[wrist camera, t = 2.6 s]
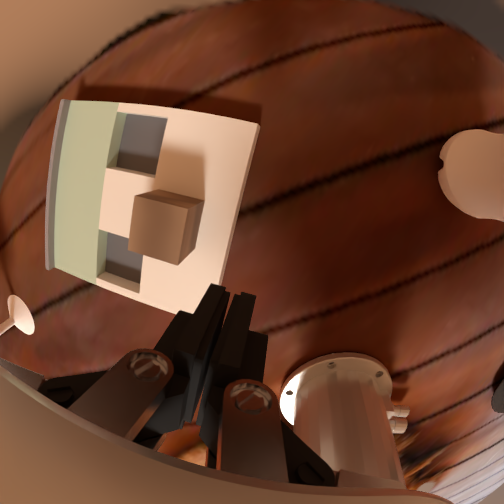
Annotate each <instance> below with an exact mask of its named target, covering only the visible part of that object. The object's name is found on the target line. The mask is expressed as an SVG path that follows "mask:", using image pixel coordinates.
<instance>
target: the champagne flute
mask: <svg viewBox="0 0 504 504" xmlns="http://www.w3.org/2000/svg"><path fill="white" fill-rule="evenodd" d="M8 309H9V314H10V318H9V319H8V320H6V321H5V322H3V323H2V324H1V325H0V335H1V334H2V333H4V332H5V331H6V330H7V329H9V328H10V327H11V326H13V325H15V326H16V327H18V328H19V329H20V330H21V331H23V332H24V333H26V334H29V335H30V334H32V333H33V332H34V321H33V318H32V315H31V313H30V311H29V309H28V308H27V306H26V305H25V303H24V302H23V301H22V300H21V299H20V298H19V297H18V296H16V295H10V296H9V298H8Z"/></svg>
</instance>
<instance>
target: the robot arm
mask: <svg viewBox="0 0 504 504" xmlns="http://www.w3.org/2000/svg"><path fill="white" fill-rule="evenodd" d="M225 289H226V287H223V286H220V285H216V284H213V283H211V284H210V285H209V287H208V289H207V291H206V292H205V294H204V296H203V298H202V299H201V301H200V303H199V305H198V306H197V308H196V310H195V312H194V313H193V314H192V313H188V312H185V311H182V310H179V311H178V313H177V314H176V316H175V317H174V319H173V320H172V322H171V323H170V325H169V326H168V328H167V329H166V331H165V332H164V334H163V335H162V337H161V338H160V340H159V342H158V343H157V345H156V346H155V348H154V349H146V348H144V349H136V350H132V351H130V352H129V353H127V354H126V355H124V356H123V357H122V358H121V359H120V360H119V361H118V362H117V363H116V364H115V365H114V366H113V367H112V368H111V369H109V370H107V371H100V372H94V373H87V374H80V375H73V376H65V377H57V378H53V379H49V380H45V377H44V375H41V374H38V373H35V372H33V371H30V370H28V369H25V368H23V367H20V366H18V365H15V364H13V363H11V362H8V361H6V360H4V359H2V358H0V504H454V503H452V502H451V501H449V500H447V499H445V498H443V497H440V496H437V495H434V494H430V493H426V492H422V491H415V490H407V488H406V486H405V481H404V477H403V472H402V468H401V464H400V460H399V456H398V452H397V448H396V444H395V441H394V437H393V433H403V432H404V431H405V430H406V428H407V420H406V419H405V418H391V417H392V416H396V417H407V416H408V414H409V411H410V409H409V407H408V406H401V405H398V406H395V405H393V403H392V402H391V399H390V397H391V394H392V380H391V377H390V375H389V372H388V370H387V368H386V367H385V366H384V365H383V364H382V363H381V362H380V361H378V360H377V359H375V358H373V357H371V356H368V355H365V354H360V353H351V352H343V353H333V354H329V355H325V356H321V357H318V358H316V359H313V360H311V361H309V362H307V363H305V364H304V365H302V366H300V367H299V368H298V369H296V370H295V371H294V372H293V373H291V375H290V376H289V377H288V378H287V379H286V381H285V383H284V384H283V386H282V389H281V393H280V408H281V412H282V413H283V415H284V417H285V418H286V419H287V420H288V421H289V422H290V423H291V424H292V425H294V428H293V431H292V430H291V429H290V428H289V427H288V426H287V425H285V424H284V423H283V422H282V421H281V420H280V412H279V405H278V400H277V397H276V395H275V393H274V392H273V391H272V389H270V388H269V387H268V386H266V385H265V384H263V376H264V368H265V360H266V351H267V343H268V335H265V334H261V333H258V332H254V331H250V330H249V326H250V322H251V317H252V313H253V308H254V304H255V299H256V296H255V295H252V294H248V293H245V292H241V295H237V294H235V295H234V297H233V300H232V303H231V306H230V308H229V311H228V314H227V316H226V319H225V322H224V324H223V321H224V317H225V313H226V309H227V305H228V301H229V297H230V292H227V291H225ZM222 325H223V327H222ZM221 329H222V330H221ZM203 388H204V390H203ZM202 390H203V394H202V399H201V403H200V408H199V412H198V417H197V421H196V425H200V426H201V429H200V433H199V436H200V437H201V439H202V440H203V442H204V443H205V444H206V446H207V451H206V462H205V467H204V466H201V465H197V464H194V463H190V462H187V461H184V460H181V459H177V458H174V457H171V456H168V455H166V454H163V453H160V452H157V451H158V449H159V448H160V446H161V445H162V443H163V442H164V440H165V439H166V436H167V433H168V432H171V431H174V430H177V429H182V428H183V425H184V422H185V421H187V422H190V423H191V421H192V418H193V416H194V413H195V410H196V407H197V404H198V402H199V399H200V396H201V393H202Z"/></svg>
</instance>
